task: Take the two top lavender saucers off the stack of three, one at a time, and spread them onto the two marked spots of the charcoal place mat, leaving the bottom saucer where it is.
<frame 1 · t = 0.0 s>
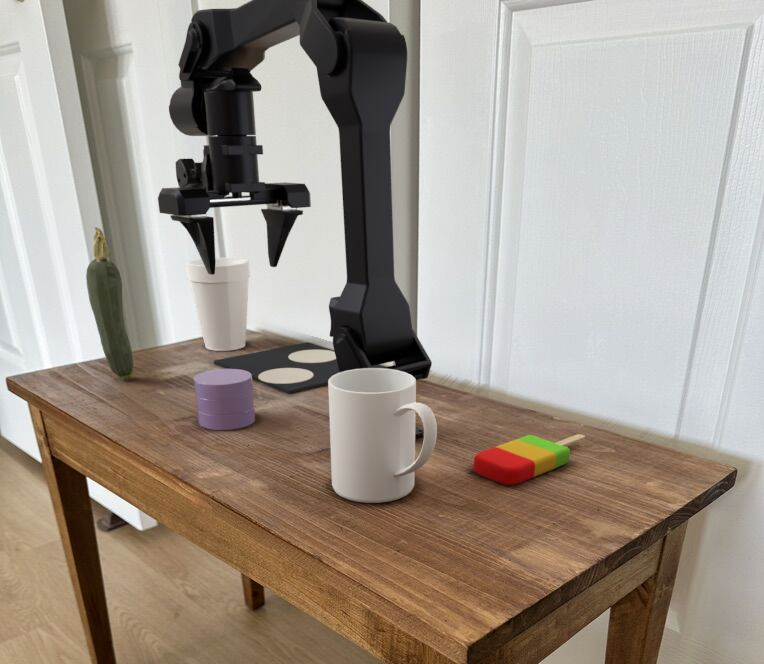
hand: (243, 270, 98), 15 cm above the table, tool pointing down, fingers open, 9 cm apart
place mat: (299, 366, 111), on the table
saucer bottom: (227, 420, 90), on the table, touching saucer middle
popsicle: (537, 462, 78), on the table
mug: (387, 495, 71), on the table
saucer top: (224, 391, 88), point 4 cm above the table, touching saucer middle
foam cup: (225, 347, 122), on the table
saucer middle: (225, 406, 89), point 2 cm above the table, touching saucer bottom, saucer top
vegetable: (120, 383, 105), on the table
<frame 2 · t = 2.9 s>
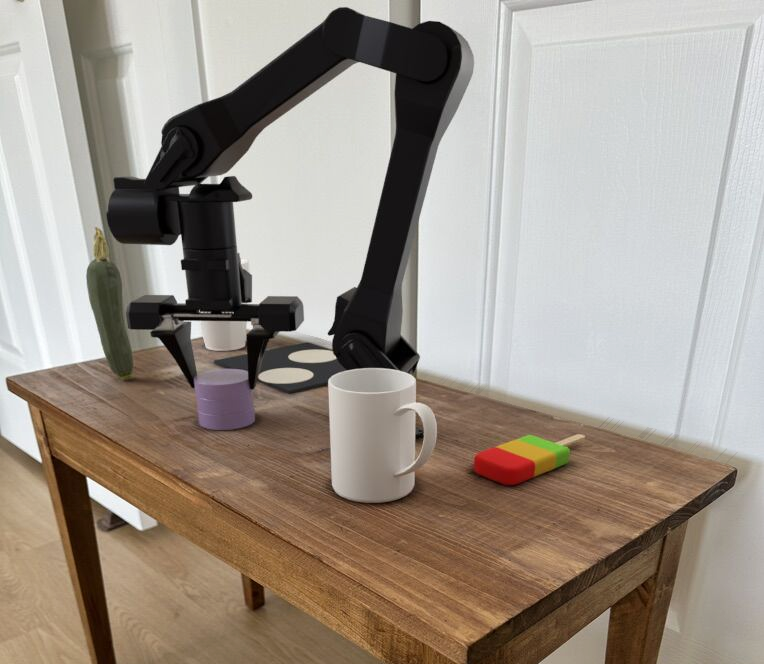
hand: (224, 387, 88), 4 cm above the table, tool pointing down, fingers closed on saucer top, 6 cm apart
saucer top: (224, 391, 88), point 4 cm above the table, touching gripper, saucer middle
everything else where it was.
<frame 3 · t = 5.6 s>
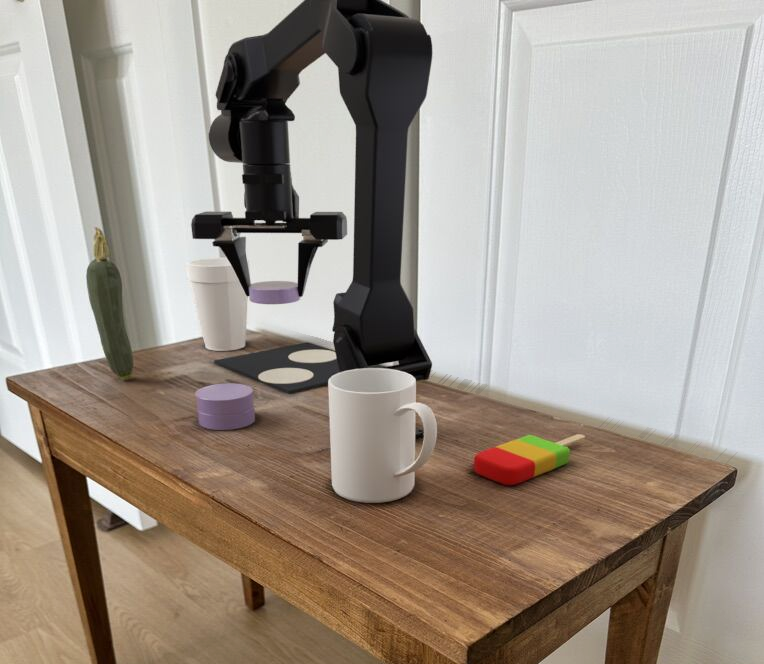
hand: (275, 296, 99), 12 cm above the table, tool pointing down, fingers closed on saucer top, 6 cm apart
saucer top: (275, 299, 99), point 11 cm above the table, touching gripper
saucer middle: (225, 406, 89), point 2 cm above the table, touching saucer bottom
everything else where it was.
when the fingers open (1 cm above the table, at t = 8.6 s): saucer top stays where it is, resting on place mat.
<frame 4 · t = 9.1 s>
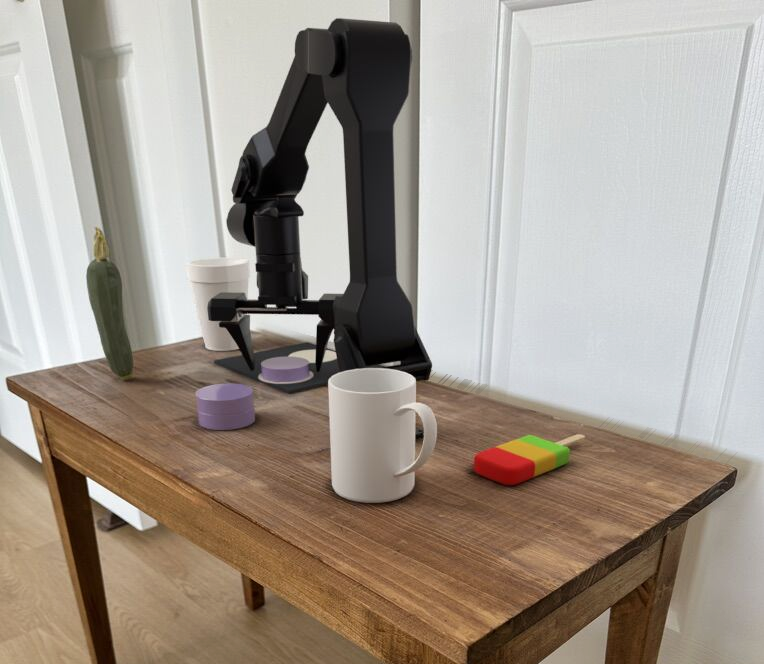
hand: (285, 370, 105), 1 cm above the table, tool pointing down, fingers open, 9 cm apart
saucer top: (285, 375, 105), resting on place mat
everything else where it was.
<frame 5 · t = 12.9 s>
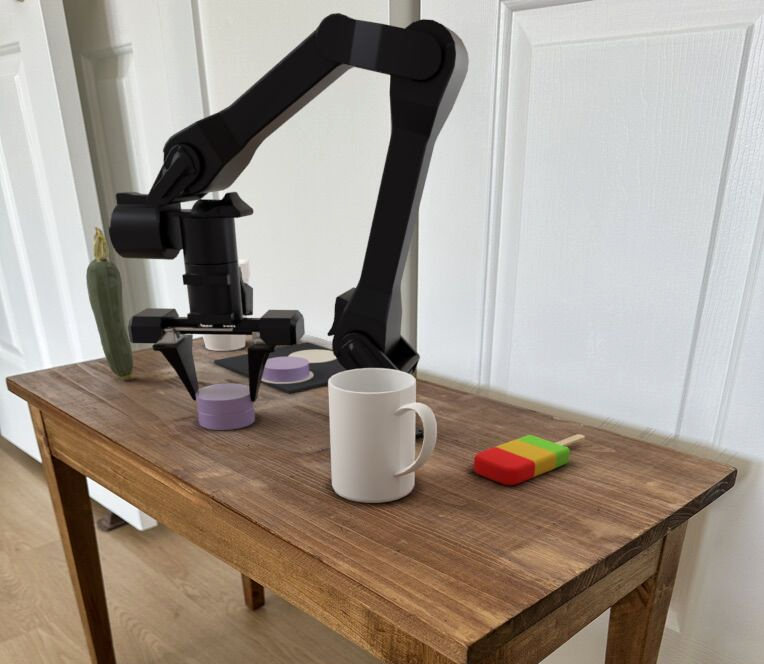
hand: (225, 400, 89), 3 cm above the table, tool pointing down, fingers closed on saucer middle, 6 cm apart
saucer middle: (225, 406, 89), point 2 cm above the table, touching gripper, saucer bottom
everything else where it was.
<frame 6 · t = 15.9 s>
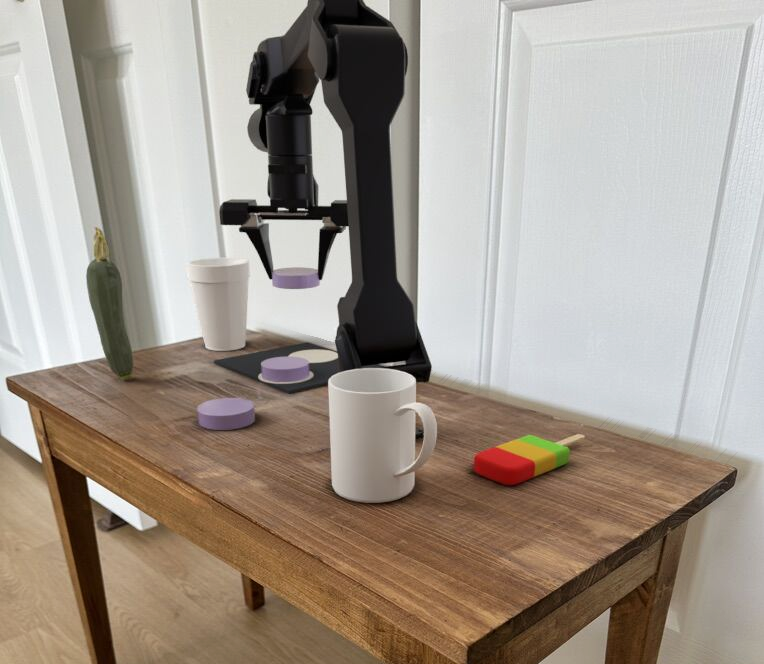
hand: (296, 279, 105), 12 cm above the table, tool pointing down, fingers closed on saucer middle, 6 cm apart
saucer bottom: (227, 420, 90), on the table
saucer middle: (296, 284, 106), point 12 cm above the table, touching gripper
everything else where it was.
when the fingers open (1 cm above the table, at t = 19.3 s): saucer middle stays where it is, resting on place mat.
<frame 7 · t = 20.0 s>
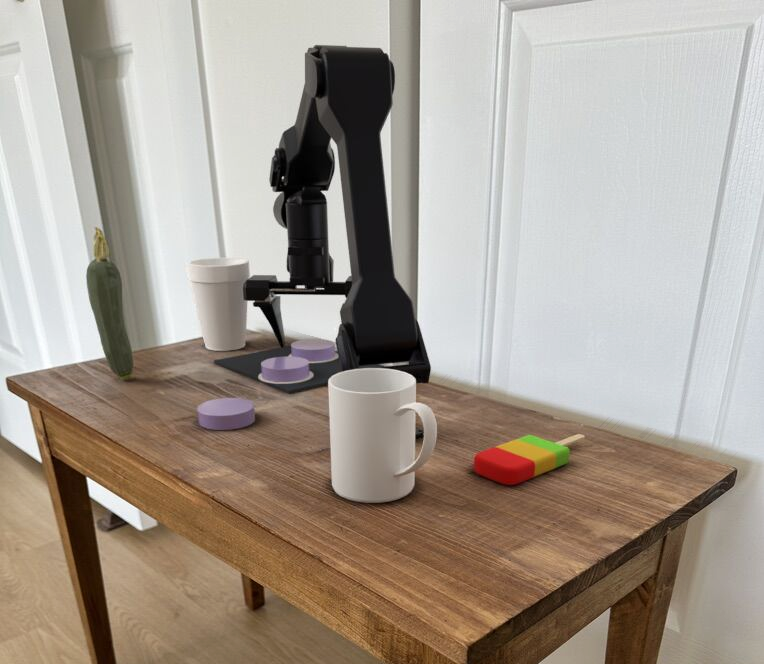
hand: (313, 347, 114), 2 cm above the table, tool pointing down, fingers open, 9 cm apart
saucer middle: (313, 355, 114), resting on place mat
everything else where it was.
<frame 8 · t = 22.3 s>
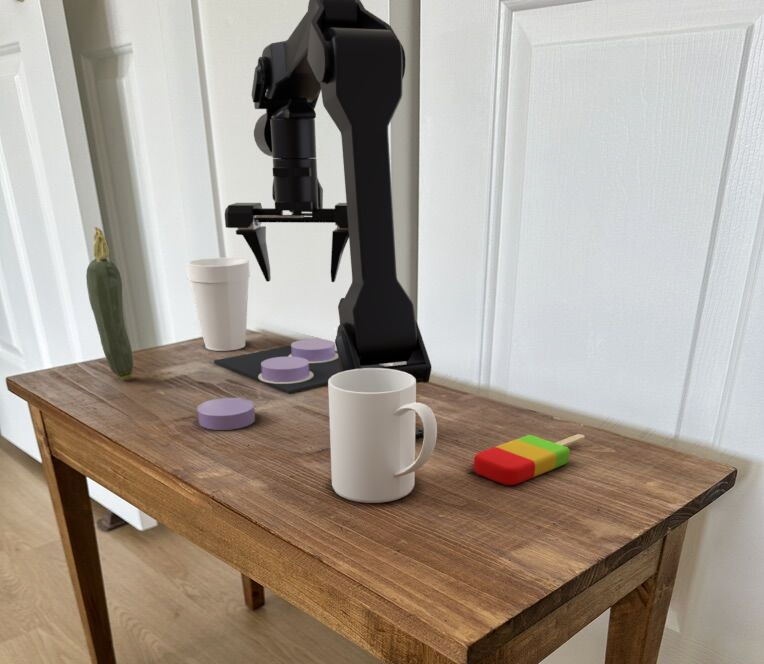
hand: (300, 281, 106), 12 cm above the table, tool pointing down, fingers open, 9 cm apart
nothing on the table moved.
at the end: saucer top 0.0 cm from the target spot on the place mat, point 0.5 cm above the place mat's base; saucer middle 0.1 cm from the target spot on the place mat, point 0.5 cm above the place mat's base; saucer bottom moved 0.0 cm from its start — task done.
